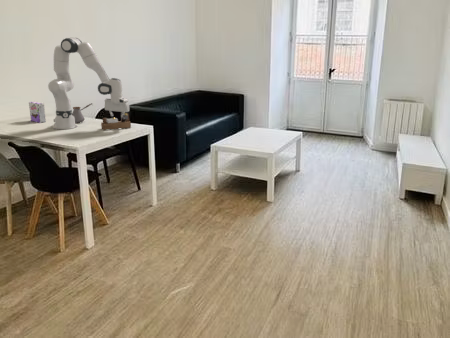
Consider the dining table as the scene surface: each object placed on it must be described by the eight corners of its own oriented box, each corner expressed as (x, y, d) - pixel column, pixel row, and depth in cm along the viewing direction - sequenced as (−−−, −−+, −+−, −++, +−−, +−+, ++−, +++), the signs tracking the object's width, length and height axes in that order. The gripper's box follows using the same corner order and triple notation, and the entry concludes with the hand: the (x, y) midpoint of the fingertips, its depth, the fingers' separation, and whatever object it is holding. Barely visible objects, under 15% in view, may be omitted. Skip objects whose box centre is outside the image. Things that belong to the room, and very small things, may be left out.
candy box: (30, 120, 352) (28, 101, 347) (37, 119, 356) (34, 101, 351) (39, 123, 344) (37, 103, 339) (46, 122, 349) (44, 102, 344)
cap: (106, 122, 328) (106, 118, 327) (116, 121, 332) (116, 117, 331) (108, 123, 325) (107, 119, 324) (117, 122, 329) (117, 118, 328)
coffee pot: (75, 124, 343) (73, 106, 339) (68, 122, 350) (66, 104, 346) (97, 120, 358) (96, 103, 354) (90, 119, 366) (89, 102, 361)
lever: (124, 123, 323) (124, 113, 320) (120, 121, 333) (120, 111, 331) (128, 123, 324) (128, 113, 322) (124, 120, 335) (124, 110, 332)
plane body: (101, 128, 329) (100, 115, 325) (128, 126, 340) (127, 113, 336) (103, 130, 323) (102, 116, 320) (130, 128, 334) (130, 114, 330)
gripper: (102, 98, 320) (103, 116, 324) (126, 100, 315) (126, 118, 319) (106, 97, 326) (107, 114, 330) (130, 99, 321) (130, 117, 325)
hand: (117, 116), depth 325 cm, fingers open, 8 cm apart
